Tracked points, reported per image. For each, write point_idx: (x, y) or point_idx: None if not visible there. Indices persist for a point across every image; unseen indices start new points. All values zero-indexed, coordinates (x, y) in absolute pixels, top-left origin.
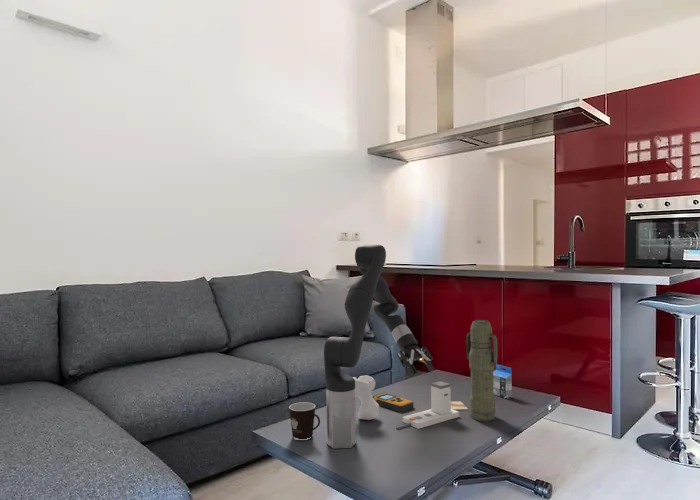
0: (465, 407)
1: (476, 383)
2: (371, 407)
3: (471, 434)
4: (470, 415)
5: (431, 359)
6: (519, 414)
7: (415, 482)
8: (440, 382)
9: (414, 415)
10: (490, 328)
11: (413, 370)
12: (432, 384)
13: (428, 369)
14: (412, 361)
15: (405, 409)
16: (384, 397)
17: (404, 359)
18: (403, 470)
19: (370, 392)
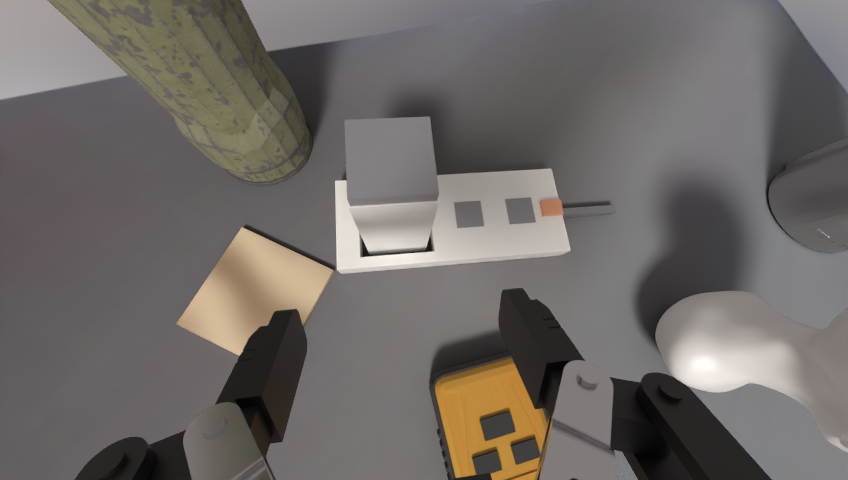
0: (236, 244)
1: (240, 2)
2: (740, 298)
3: (420, 70)
4: (297, 169)
5: (147, 446)
6: (130, 99)
7: None
8: (372, 175)
9: (521, 237)
10: None
11: (545, 313)
12: (437, 184)
13: (298, 378)
14: (557, 400)
15: (490, 356)
16: None
17: (727, 443)
18: (691, 22)
19: (819, 332)
